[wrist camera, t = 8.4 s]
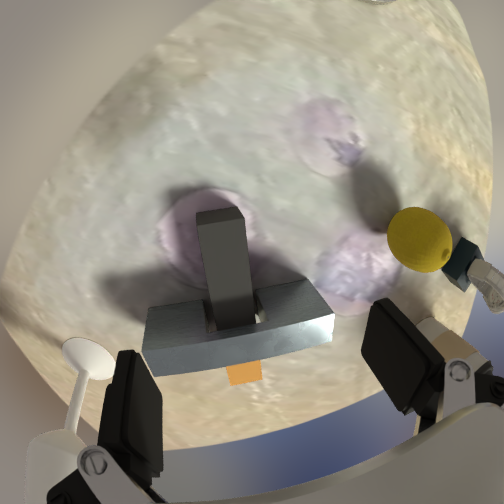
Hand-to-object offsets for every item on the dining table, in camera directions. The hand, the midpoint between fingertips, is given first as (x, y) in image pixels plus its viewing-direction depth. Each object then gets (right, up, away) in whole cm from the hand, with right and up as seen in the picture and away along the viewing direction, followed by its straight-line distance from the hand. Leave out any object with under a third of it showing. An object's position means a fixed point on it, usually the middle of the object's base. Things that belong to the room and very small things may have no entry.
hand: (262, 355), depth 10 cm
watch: (+28, +3, +20) cm, 35 cm away
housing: (-2, -1, +15) cm, 15 cm away
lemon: (+14, +7, +15) cm, 21 cm away
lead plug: (-2, 0, +14) cm, 14 cm away
